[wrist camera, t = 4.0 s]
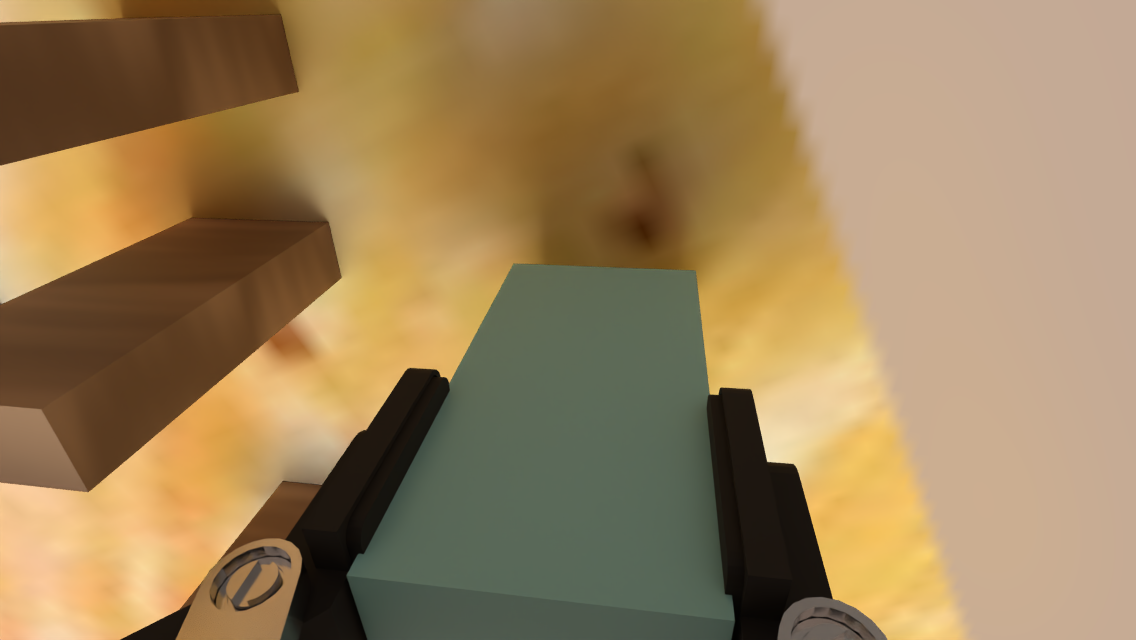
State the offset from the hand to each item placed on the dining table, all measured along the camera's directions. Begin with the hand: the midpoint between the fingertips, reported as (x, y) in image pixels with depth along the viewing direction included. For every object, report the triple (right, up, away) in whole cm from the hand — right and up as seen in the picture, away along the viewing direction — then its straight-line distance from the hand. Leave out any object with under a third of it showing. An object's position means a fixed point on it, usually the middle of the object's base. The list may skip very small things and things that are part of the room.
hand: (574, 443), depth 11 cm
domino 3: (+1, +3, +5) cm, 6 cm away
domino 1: (-11, +10, +6) cm, 16 cm away
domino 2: (-10, +5, +8) cm, 14 cm away
